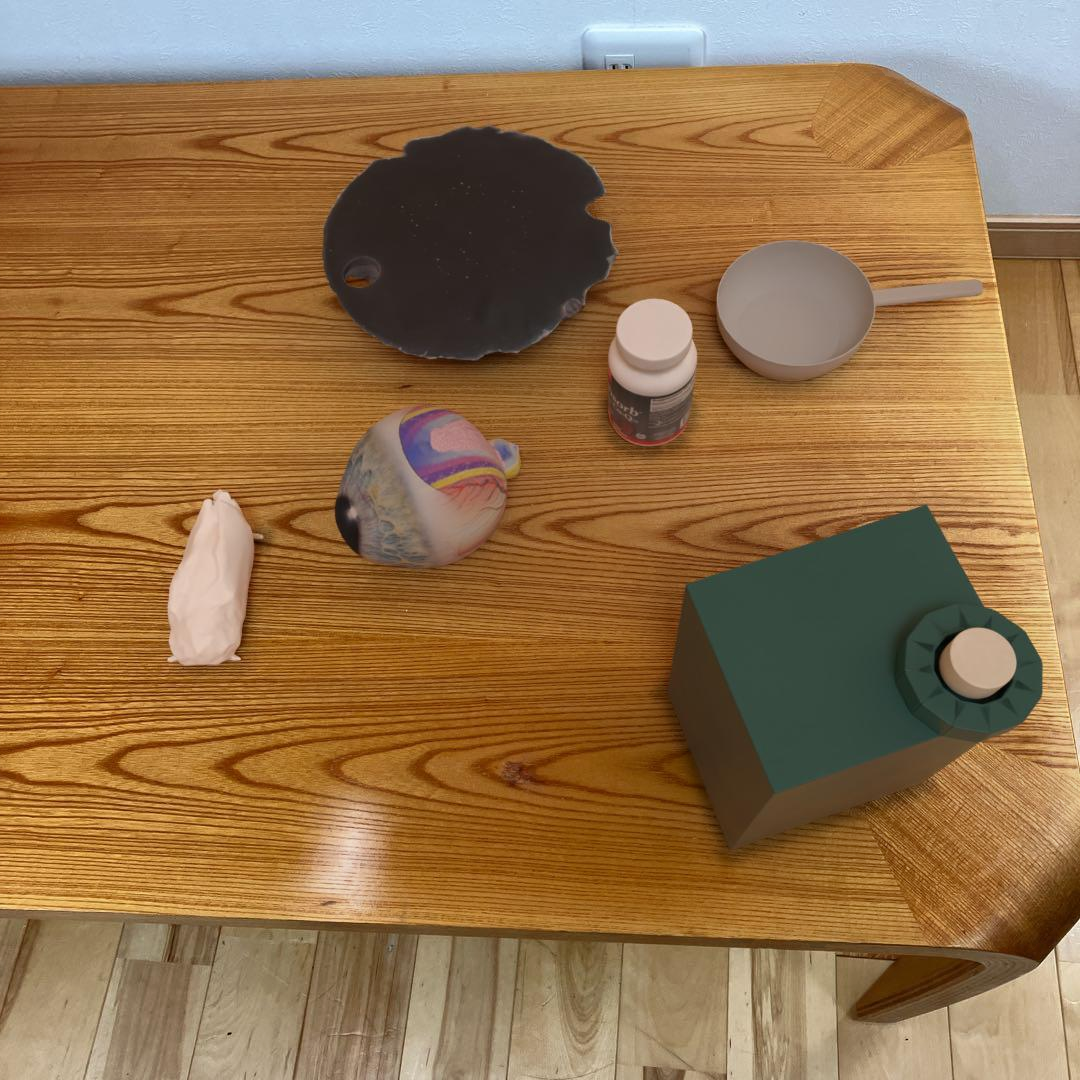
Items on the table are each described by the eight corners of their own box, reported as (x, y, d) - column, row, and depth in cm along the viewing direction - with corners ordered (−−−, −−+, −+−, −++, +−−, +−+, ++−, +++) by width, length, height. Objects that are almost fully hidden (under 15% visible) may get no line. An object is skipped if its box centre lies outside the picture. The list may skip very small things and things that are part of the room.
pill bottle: (593, 401, 70) (590, 313, 61) (663, 368, 71) (670, 276, 62) (633, 463, 68) (636, 381, 59) (705, 427, 69) (719, 341, 60)
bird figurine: (194, 551, 69) (161, 675, 62) (178, 485, 63) (141, 614, 57) (267, 556, 69) (242, 679, 63) (257, 491, 64) (229, 619, 58)
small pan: (704, 277, 74) (709, 242, 70) (949, 260, 73) (966, 223, 70) (720, 399, 69) (726, 368, 66) (982, 382, 69) (1001, 349, 65)
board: (299, 381, 73) (277, 339, 68) (372, 159, 81) (358, 108, 77) (596, 416, 70) (595, 374, 65) (639, 181, 78) (640, 130, 74)
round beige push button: (983, 631, 42) (996, 618, 41) (1014, 687, 41) (1029, 676, 40) (927, 650, 42) (938, 638, 40) (957, 707, 41) (969, 697, 39)
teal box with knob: (850, 628, 62) (942, 485, 45) (932, 794, 57) (1069, 706, 40) (666, 691, 61) (687, 569, 44) (734, 864, 56) (788, 805, 39)
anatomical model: (339, 483, 69) (297, 405, 60) (512, 436, 69) (496, 352, 60) (366, 611, 65) (325, 548, 55) (549, 560, 65) (538, 489, 56)
